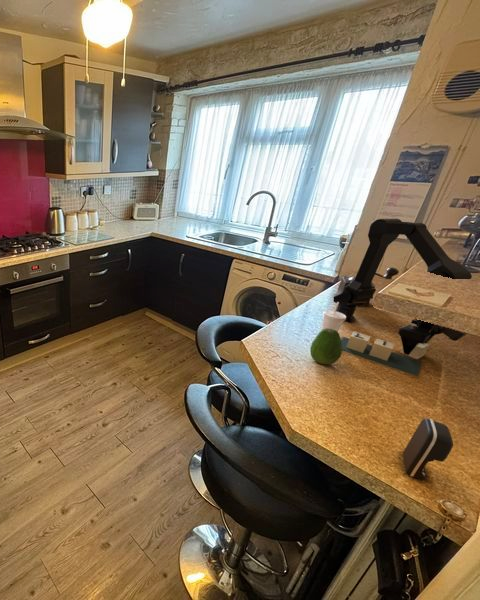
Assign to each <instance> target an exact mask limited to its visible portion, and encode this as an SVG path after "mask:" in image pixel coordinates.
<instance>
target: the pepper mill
mask: <svg viewBox="0 0 480 600" xmlns="http://www.w3.org/2000/svg"><path fill="white" fill-rule="evenodd" d="M399 273H400V272H399V270H398V268H396V267H388V268H386V273H385V274H384V275H382V274H380V273H378V272H376V273H375V275H374V276H376V277H380V278H382V279H385V280H393V277H394V276H397V275H398V274H399ZM355 277H356V275H354V276H347V275H342V277H341V280H340V282H339V285H338V286H337V290H336V293H335V296H337V295H339V294H341V293H343V291H344V289H345V288H346V286H347V285H348V284H350V283H351V282H352V281H353V280H354V279H355ZM371 284H372V288H375V289H376V286H375V284H374V282H373V281H372V282H371ZM370 301H371V299H370V300H369V301H368V302H365V303H364V304H363V305H358V306H359V307H366V308H367V307H369V304H370Z"/></svg>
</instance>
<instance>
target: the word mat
mask: <svg viewBox="0 0 480 600" xmlns="http://www.w3.org/2000/svg"><path fill="white" fill-rule="evenodd" d="M349 339H350V337H346V336H343V337H342V338H341V344H342V352H345V353H348V354H350V355H353V356H357V357H359V358H362V359H365V360H369V361H372V362H374V363H376V364H381V365H383V366H385V367H389V368H392V369H394V370H398V371H399V372H404V373H406V374H409V375H413V376H415V377H418V375H419V372H420V369H421V364H422V361H421V360H419V359H415V358H413V357H410V356H407V355H404V354H403V355H402V354H400V353H397V352H393V351H392V352H391V354H390V356H389V358H388V360H387V361H386V360H383V359H380V358H377V357H374V356H371V355H369V354H370V351H371V349H372V347H373V345H371V344H369V343H368V344H367V346H366V348H365V350H364V352H363V353H362V352H359V351H356V350H353V349H350V348H347V344H348V342H349Z"/></svg>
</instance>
